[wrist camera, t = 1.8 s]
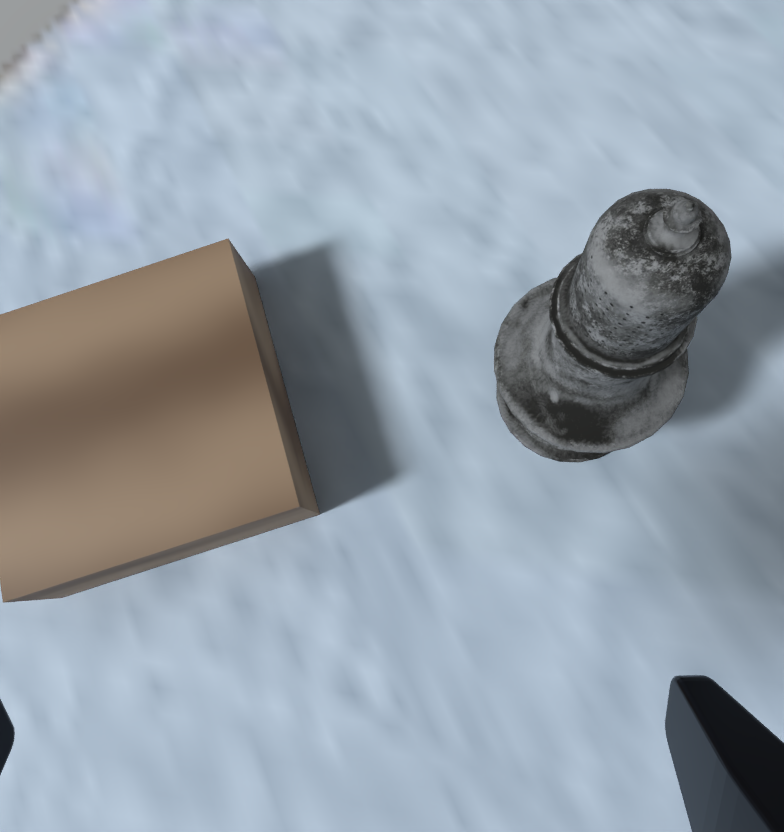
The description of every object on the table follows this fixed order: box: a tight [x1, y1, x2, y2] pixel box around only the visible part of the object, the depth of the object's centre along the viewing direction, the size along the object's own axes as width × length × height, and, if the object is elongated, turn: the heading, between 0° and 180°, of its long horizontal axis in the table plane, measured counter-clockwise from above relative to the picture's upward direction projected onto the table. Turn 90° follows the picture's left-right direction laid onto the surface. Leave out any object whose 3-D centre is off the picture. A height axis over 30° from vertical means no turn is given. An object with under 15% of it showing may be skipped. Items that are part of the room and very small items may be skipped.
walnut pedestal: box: [0, 239, 320, 602], centre depth 22 cm, size 10×10×3 cm
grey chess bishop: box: [494, 189, 731, 462], centre depth 17 cm, size 6×6×12 cm
